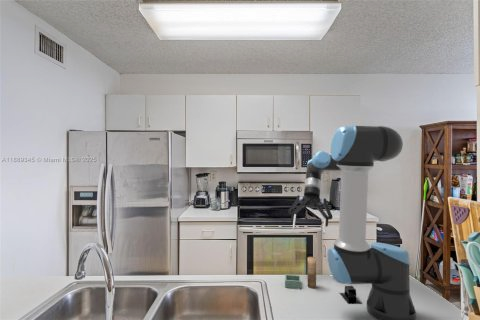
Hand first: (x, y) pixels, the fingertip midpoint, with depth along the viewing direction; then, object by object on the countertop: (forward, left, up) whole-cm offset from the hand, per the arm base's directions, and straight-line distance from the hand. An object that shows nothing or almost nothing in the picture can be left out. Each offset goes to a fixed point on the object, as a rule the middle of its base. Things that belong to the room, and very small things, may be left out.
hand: (308, 230), depth 126 cm
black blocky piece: (-17, -15, -22) cm, 31 cm away
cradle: (-9, +7, -22) cm, 24 cm away
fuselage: (-9, -1, -22) cm, 23 cm away
